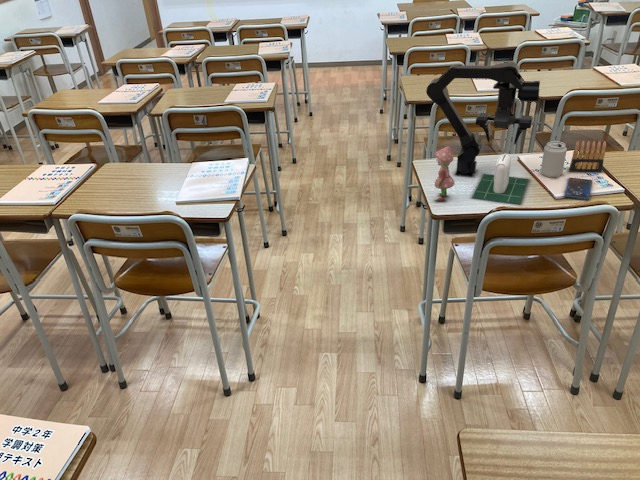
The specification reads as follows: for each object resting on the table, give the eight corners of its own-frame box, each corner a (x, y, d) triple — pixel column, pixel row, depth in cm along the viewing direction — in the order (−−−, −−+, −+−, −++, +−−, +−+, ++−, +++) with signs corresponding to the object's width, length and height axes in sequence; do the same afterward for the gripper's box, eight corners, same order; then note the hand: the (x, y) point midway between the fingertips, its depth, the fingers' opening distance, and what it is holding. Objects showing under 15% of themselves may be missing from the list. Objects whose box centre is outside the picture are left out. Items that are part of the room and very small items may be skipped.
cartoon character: (450, 206, 168) (453, 152, 157) (429, 203, 171) (431, 150, 160) (456, 193, 176) (459, 141, 165) (437, 191, 178) (439, 139, 168)
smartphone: (592, 179, 172) (589, 198, 162) (591, 181, 173) (588, 200, 162) (568, 177, 176) (564, 195, 165) (568, 179, 176) (563, 197, 166)
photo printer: (497, 180, 180) (500, 149, 173) (509, 182, 178) (513, 151, 171) (491, 193, 173) (495, 161, 166) (504, 194, 171) (508, 162, 164)
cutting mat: (472, 198, 172) (472, 197, 171) (483, 174, 186) (483, 173, 186) (519, 204, 165) (520, 203, 164) (528, 179, 179) (528, 178, 179)
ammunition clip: (600, 170, 180) (607, 139, 173) (601, 172, 178) (608, 141, 172) (568, 169, 183) (574, 139, 176) (569, 171, 181) (575, 141, 175)
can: (564, 178, 177) (569, 147, 171) (542, 178, 179) (547, 147, 173) (559, 169, 183) (565, 139, 177) (538, 169, 185) (543, 140, 179)
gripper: (473, 106, 167) (470, 149, 176) (531, 109, 159) (525, 153, 168) (480, 97, 176) (477, 137, 184) (536, 99, 167) (530, 142, 176)
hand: (501, 142), depth 178 cm, fingers open, 9 cm apart
